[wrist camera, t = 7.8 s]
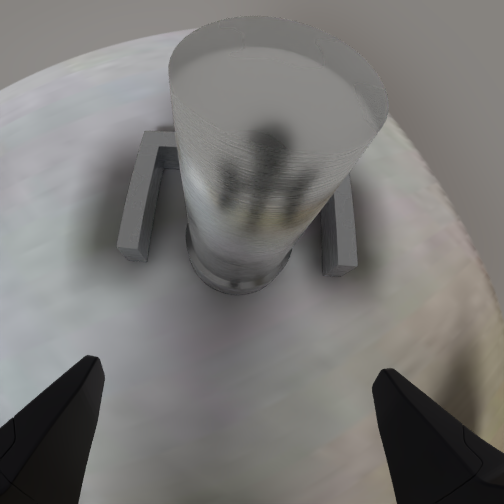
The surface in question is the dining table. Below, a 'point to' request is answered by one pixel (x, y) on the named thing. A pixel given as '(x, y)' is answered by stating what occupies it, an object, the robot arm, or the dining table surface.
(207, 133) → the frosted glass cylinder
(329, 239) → the duct saddle
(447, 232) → the dining table surface
